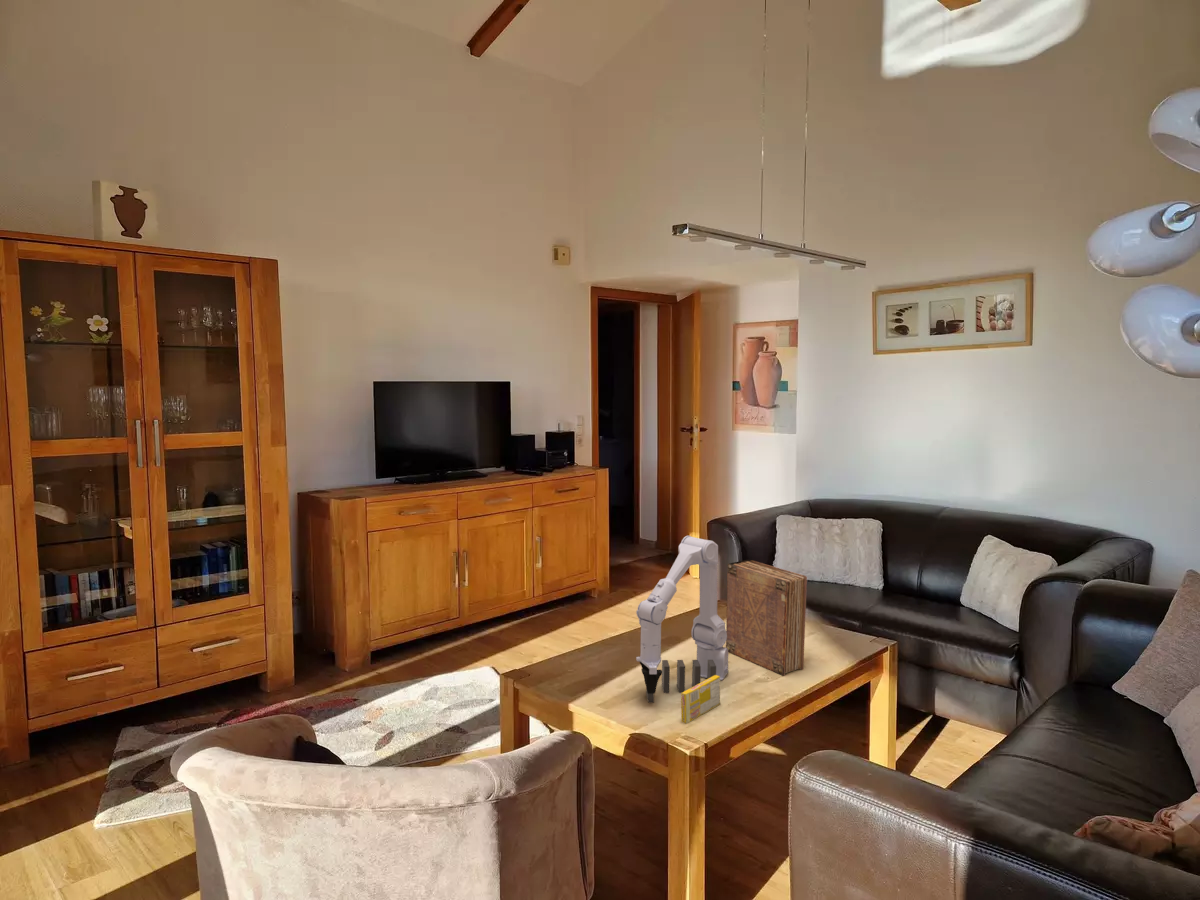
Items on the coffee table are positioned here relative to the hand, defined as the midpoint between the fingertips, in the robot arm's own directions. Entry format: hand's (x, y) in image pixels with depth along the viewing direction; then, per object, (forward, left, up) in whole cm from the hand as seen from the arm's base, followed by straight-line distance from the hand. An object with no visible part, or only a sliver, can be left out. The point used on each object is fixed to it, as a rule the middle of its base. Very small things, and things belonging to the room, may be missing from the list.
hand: (650, 688), depth 223 cm
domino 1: (0, 0, -3) cm, 3 cm away
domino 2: (-2, -8, -3) cm, 9 cm away
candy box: (-16, +3, -3) cm, 16 cm away
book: (-24, -42, -3) cm, 49 cm away
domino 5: (-14, -14, -3) cm, 20 cm away
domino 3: (-6, -10, -3) cm, 12 cm away
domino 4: (-10, -12, -3) cm, 16 cm away
